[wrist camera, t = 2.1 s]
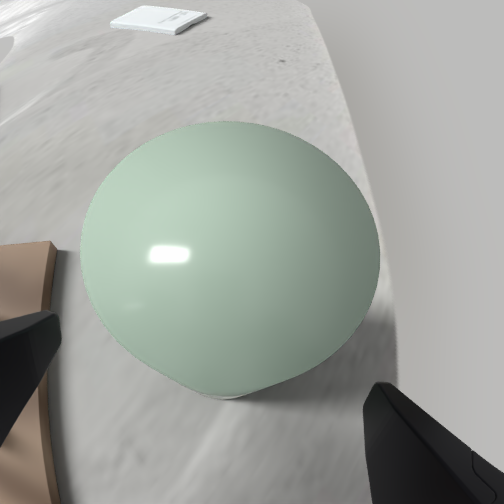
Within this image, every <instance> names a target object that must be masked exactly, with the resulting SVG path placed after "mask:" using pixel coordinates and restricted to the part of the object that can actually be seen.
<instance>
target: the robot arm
mask: <svg viewBox="0 0 504 504" xmlns="http://www.w3.org/2000/svg"><path fill="white" fill-rule="evenodd" d="M60 344H61V330H60V322H59V317H58V315H57V314H56V313H54V312H51V311H48V310H43V311H39V312H35V313H31V314H27V315H23V316H19V317H15V318H12V319H8V320H4V321H0V448H1V446H2V444H3V443H4V441H5V439H6V437H7V436H8V434H9V432H10V431H11V429H12V427H13V425H14V424H15V422H16V420H17V419H18V417H19V416H20V414H21V412H22V411H23V409H24V407H25V406H26V404H27V403H28V401H29V399H30V398H31V396H32V395H33V393H34V392H35V390H36V389H37V387H38V385H39V384H40V382H41V380H42V378H43V376H44V374H45V373H46V371H47V369H48V367H49V365H50V363H51V361H52V359H53V357H54V355H55V354H56V352H57V350H58V348H59V346H60ZM363 421H364V439H365V455H366V463H367V469H368V475H369V482H370V489H371V496H372V504H504V473H503V472H501V471H500V470H498V469H497V468H495V467H494V466H493V465H491V464H490V463H489V462H487V461H486V460H485V459H483V458H482V457H481V456H480V455H478V454H477V453H476V452H474V451H471V448H470V447H468V446H467V445H466V444H465V443H463V442H462V441H461V440H460V439H458V438H457V437H456V436H454V435H453V434H452V433H451V432H450V431H448V430H447V429H446V428H445V427H443V426H442V425H441V424H440V423H439V422H437V421H436V420H435V419H434V418H432V417H431V416H430V415H429V414H427V413H426V412H425V411H424V410H422V409H421V408H420V407H419V406H418V405H416V404H415V403H414V402H413V401H412V400H410V399H409V398H408V397H407V396H405V395H404V394H403V393H402V392H401V391H399V390H398V389H397V388H396V387H395V386H393V385H392V384H391V383H388V382H376V383H375V384H374V386H373V387H372V389H371V391H370V393H369V395H368V397H367V399H366V401H365V403H364V405H363Z"/></svg>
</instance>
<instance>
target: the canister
mask: <svg viewBox="0 0 504 504" xmlns="http://www.w3.org/2000/svg"><path fill="white" fill-rule="evenodd" d="M80 259H81V271H82V275H83V280H84V284H85V288H86V291H87V294H88V296H89V299H90V301H91V304H92V306H93V308H94V310H95V312H96V313H97V315H98V317H99V318H100V320H101V322H102V323H103V325H104V326H105V327H106V329H107V330H108V331H109V332H110V333H111V335H112V336H113V337H114V338H115V339H116V341H117V342H118V343H119V344H120V345H122V346H123V347H124V348H125V349H126V350H127V351H128V352H130V353H131V354H132V355H133V356H134V357H135V358H137V359H139V360H140V361H142V362H143V363H145V364H146V365H148V366H150V367H151V368H153V369H154V370H156V371H158V372H160V373H161V374H163V375H165V376H167V377H168V378H170V379H172V380H174V381H176V382H177V383H179V384H181V385H183V386H185V387H187V388H189V389H191V390H193V391H194V392H196V393H198V394H200V395H203V396H205V397H209V398H213V399H233V398H237V397H241V396H244V395H247V394H250V393H253V392H256V391H258V390H261V389H264V388H267V387H270V386H272V385H275V384H278V383H280V382H283V381H286V380H288V379H291V378H294V377H296V376H298V375H300V374H302V373H304V372H306V371H308V370H310V369H312V368H314V367H316V366H317V365H319V364H320V363H322V362H323V361H324V360H326V359H327V358H329V357H330V356H331V355H333V354H334V353H335V352H336V351H337V350H338V349H339V348H340V347H341V346H342V345H343V344H344V343H345V342H346V341H347V340H348V339H349V338H350V337H351V336H352V335H353V333H354V332H355V330H356V329H357V328H358V326H359V325H360V323H361V322H362V321H363V319H364V317H365V315H366V313H367V311H368V309H369V307H370V305H371V303H372V300H373V297H374V294H375V290H376V287H377V283H378V277H379V270H380V246H379V239H378V233H377V229H376V225H375V222H374V218H373V216H372V213H371V211H370V209H369V206H368V204H367V202H366V200H365V198H364V197H363V195H362V193H361V192H360V190H359V188H358V187H357V186H356V184H355V183H354V182H353V180H352V179H351V178H350V176H349V175H348V174H347V173H346V172H345V171H344V170H343V169H342V168H341V167H340V166H339V165H338V164H337V163H336V162H335V161H334V160H332V159H331V158H330V157H329V156H328V155H326V154H325V153H324V152H322V151H321V150H319V149H318V148H316V147H315V146H313V145H312V144H310V143H308V142H306V141H304V140H302V139H301V138H299V137H296V136H294V135H292V134H289V133H287V132H284V131H281V130H278V129H275V128H272V127H268V126H263V125H259V124H254V123H245V122H229V121H221V122H207V123H201V124H195V125H190V126H186V127H182V128H179V129H175V130H173V131H170V132H167V133H165V134H162V135H160V136H158V137H156V138H154V139H152V140H150V141H148V142H146V143H145V144H143V145H142V146H140V147H139V148H137V149H136V150H134V151H133V152H131V153H130V154H129V155H128V156H127V157H125V158H124V159H123V160H122V161H121V162H120V163H119V164H118V165H117V166H116V167H115V168H114V169H113V170H112V171H111V172H110V173H109V174H108V176H107V177H106V179H105V180H104V181H103V183H102V184H101V185H100V187H99V189H98V190H97V192H96V194H95V196H94V198H93V199H92V201H91V204H90V206H89V209H88V212H87V214H86V217H85V221H84V225H83V229H82V234H81V246H80Z"/></svg>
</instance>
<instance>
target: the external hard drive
mask: <svg viewBox="0 0 504 504" xmlns="http://www.w3.org/2000/svg"><path fill="white" fill-rule="evenodd" d="M205 18H207V13H202V12H196V11H189V10H182V9H175V8H166V7H156V6H141V7H139V8H136V9H134V10H132V11H130V12H128V13H126V14H124V15H122V16H120V17H118V18H116V19H115V20H113V21H111V22H110V28H121V29H132V30H141V31H149V32H157V33H164V34H170V35H176V34H178V33H180V32H181V31H183V30H185V29H187V28H188V27H189V26H191V25H192V24H196V23H198V22H199V21H201V20H203V19H205Z"/></svg>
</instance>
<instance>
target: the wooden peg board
mask: <svg viewBox="0 0 504 504" xmlns="http://www.w3.org/2000/svg"><path fill="white" fill-rule="evenodd" d="M56 254H57V248H56V247H55V246H54V245H53V243H52V242H51V241H43V242H32V243H21V244H11V245H1V246H0V321H4V320H8V319H12V318H15V317H19V316H23V315H27V314H31V313H35V312H39V311H43V310H48V311H50V301H51V291H52V283H53V275H54V267H55V260H56ZM0 504H61V502H60V497H59V492H58V487H57V481H56V475H55V469H54V462H53V455H52V447H51V438H50V427H49V413H48V391H47V371H46V373H45V374H44V376H43V378H42V380H41V382H40V384H39V385H38V387H37V389H36V390H35V392H34V393H33V395H32V396H31V398H30V399H29V401H28V403H27V404H26V406H25V407H24V409H23V411H22V412H21V414H20V416H19V417H18V419H17V420H16V422H15V424H14V425H13V427H12V429H11V431H10V432H9V434H8V436H7V437H6V439H5V441H4V443H3V444H2V446H1V448H0Z"/></svg>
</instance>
